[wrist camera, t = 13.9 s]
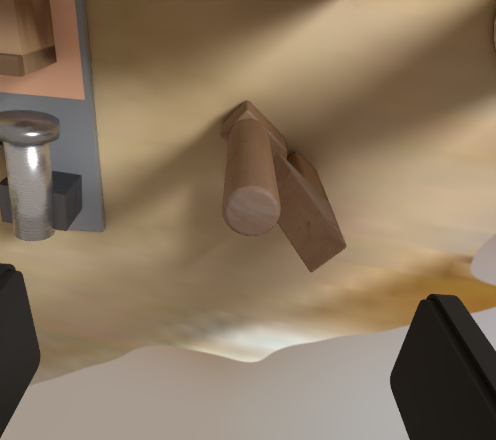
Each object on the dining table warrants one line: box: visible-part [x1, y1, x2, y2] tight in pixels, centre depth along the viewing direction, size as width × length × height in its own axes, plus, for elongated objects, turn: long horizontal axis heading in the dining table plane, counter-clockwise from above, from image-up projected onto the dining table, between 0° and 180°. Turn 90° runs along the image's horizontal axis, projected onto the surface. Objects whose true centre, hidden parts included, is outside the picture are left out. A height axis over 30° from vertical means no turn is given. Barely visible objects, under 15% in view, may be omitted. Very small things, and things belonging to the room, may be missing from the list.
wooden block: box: [221, 101, 346, 272], centre depth 34 cm, size 4×11×18 cm, turn 44°
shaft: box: [0, 110, 82, 241], centre depth 38 cm, size 11×6×8 cm, turn 169°
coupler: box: [0, 0, 57, 77], centre depth 31 cm, size 9×4×7 cm, turn 174°
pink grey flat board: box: [0, 0, 106, 232], centre depth 34 cm, size 9×44×1 cm, turn 174°
